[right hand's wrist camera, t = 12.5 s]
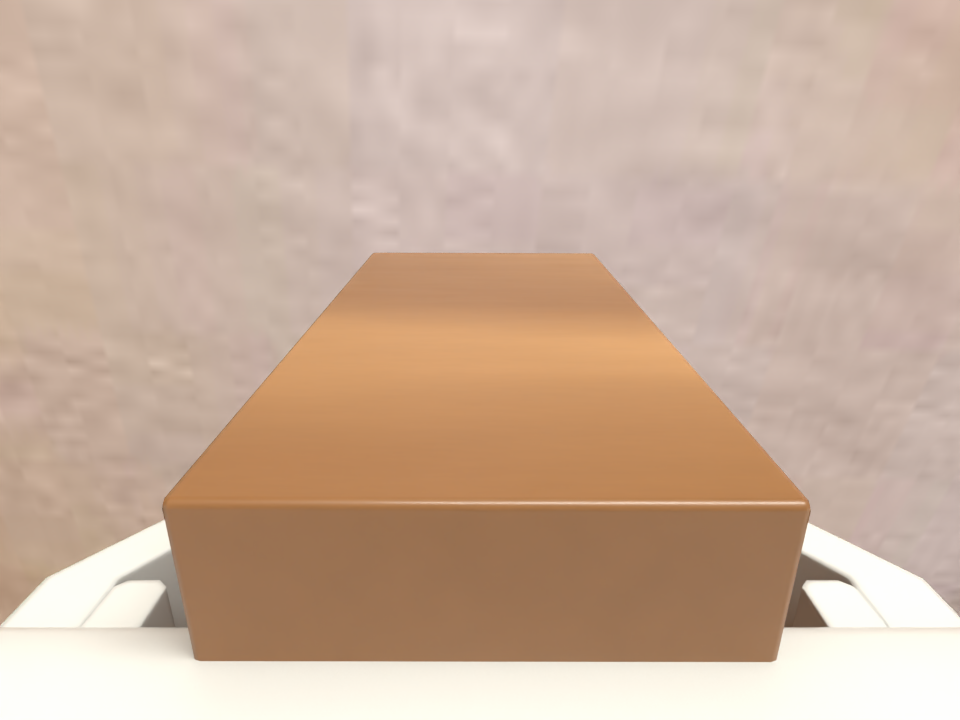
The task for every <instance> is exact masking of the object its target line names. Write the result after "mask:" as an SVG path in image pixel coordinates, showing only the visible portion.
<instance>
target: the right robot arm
mask: <svg viewBox="0 0 960 720" xmlns="http://www.w3.org/2000/svg"><path fill="white" fill-rule="evenodd" d="M0 720H960V616H959V615H958V614H957V613H956V612H955V611H954V610H953V609H952V608H951V607H950V606H949V605H948V604H947V603H946V602H945V601H944V600H943V599H942V598H941V597H940V596H939V595H938V594H937V593H936V592H935V591H934V590H933V589H932V588H931V587H930V586H929V585H928V584H927V582H926V581H925V580H924V579H922V578H920V577H918V576H916V575H914V574H912V573H910V572H908V571H906V570H904V569H902V568H900V567H898V566H896V565H894V564H892V563H890V562H888V561H886V560H884V559H882V558H880V557H877V556H875V555H873V554H871V553H869V552H867V551H865V550H863V549H861V548H859V547H857V546H855V545H853V544H851V543H849V542H847V541H845V540H843V539H841V538H839V537H837V536H835V535H833V534H830V533H828V532H826V531H824V530H822V529H820V528H818V527H816V526H814V525H812V524H810V523H808V525H807V529H806V533H805V538H804V542H803V546H802V551H801V555H800V559H799V564H798V568H797V572H796V577H795V581H794V585H793V590H792V594H791V599H790V603H789V607H788V612H787V616H786V620H785V625H784V629H783V633H782V638H781V642H780V646H779V651H778V655H777V659H776V661H773V662H388V661H198V660H195V659H194V654H193V649H192V645H191V640H190V635H189V631H188V626H187V621H186V617H185V612H184V607H183V603H182V598H181V593H180V589H179V584H178V579H177V575H176V570H175V565H174V561H173V556H172V551H171V547H170V542H169V537H168V533H167V528H166V523H165V520H162V521H160V522H158V523H156V524H154V525H152V526H150V527H148V528H146V529H144V530H142V531H140V532H138V533H136V534H134V535H132V536H130V537H128V538H126V539H124V540H122V541H120V542H118V543H116V544H114V545H112V546H110V547H108V548H106V549H104V550H102V551H99V552H97V553H95V554H93V555H91V556H89V557H87V558H85V559H83V560H81V561H79V562H77V563H75V564H73V565H71V566H69V567H67V568H65V569H63V570H61V571H59V572H57V573H55V574H53V575H51V576H49V577H47V578H45V579H44V580H43V581H42V583H41V584H40V585H39V586H38V587H37V588H36V589H35V590H34V591H33V592H32V593H31V594H30V595H29V596H28V597H27V598H26V599H25V600H24V601H23V602H22V603H21V604H20V605H19V606H18V607H17V609H16V610H15V611H14V612H13V613H12V614H11V615H10V616H9V617H8V618H7V619H6V620H5V621H4V622H3V623H2V624H1V625H0Z"/></svg>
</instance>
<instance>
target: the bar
mask: <svg viewBox="0 0 960 720" xmlns="http://www.w3.org/2000/svg"><path fill="white" fill-rule="evenodd" d="M162 509H163V514H164V519H165V523H166V528H167V533H168V537H169V542H170V547H171V551H172V556H173V561H174V565H175V570H176V575H177V579H178V584H179V589H180V593H181V598H182V603H183V607H184V612H185V617H186V621H187V626H188V631H189V635H190V640H191V645H192V649H193V654H194V659H195V660H198V661H388V662H773V661H776V659H777V655H778V651H779V646H780V642H781V638H782V633H783V629H784V625H785V620H786V616H787V612H788V607H789V603H790V599H791V594H792V590H793V585H794V581H795V577H796V572H797V568H798V564H799V559H800V555H801V551H802V546H803V542H804V538H805V533H806V529H807V525H808V520H809V516H810V512H811V511H810V505H809V501H808V500H807V499H806V497H805V496H804V495H803V494H802V493H801V492H800V491H799V489H798V488H797V487H796V486H795V485H794V484H793V482H792V481H791V480H790V479H789V478H788V477H787V476H786V474H785V473H784V472H783V471H782V470H781V469H780V468H779V466H778V465H777V464H776V463H775V462H774V461H773V460H772V458H771V457H770V456H769V455H768V454H767V453H766V451H765V450H764V449H763V448H762V447H761V446H760V445H759V443H758V442H757V441H756V440H755V439H754V438H753V437H752V435H751V434H750V433H749V432H748V431H747V430H746V429H745V427H744V426H743V425H742V424H741V423H740V422H739V420H738V419H737V418H736V417H735V416H734V415H733V414H732V412H731V411H730V410H729V409H728V408H727V407H726V406H725V404H724V403H723V402H722V401H721V400H720V399H719V398H718V396H717V395H716V394H715V393H714V392H713V391H712V390H711V388H710V387H709V386H708V385H707V384H706V383H705V381H704V380H703V379H702V378H701V377H700V376H699V375H698V373H697V372H696V371H695V370H694V369H693V368H692V367H691V365H690V364H689V363H688V362H687V361H686V360H685V359H684V357H683V356H682V355H681V354H680V353H679V352H678V350H677V349H676V348H675V347H674V346H673V345H672V344H671V342H670V341H669V340H668V339H667V338H666V337H665V336H664V334H663V333H662V332H661V331H660V330H659V329H658V328H657V326H656V325H655V324H654V323H653V322H652V321H651V319H650V318H649V317H648V316H647V315H646V314H645V313H644V311H643V310H642V309H641V308H640V307H639V306H638V305H637V303H636V302H635V301H634V300H633V299H632V298H631V297H630V295H629V294H628V293H627V292H626V291H625V290H624V289H623V287H622V286H621V285H620V284H619V283H618V282H617V280H616V279H615V278H614V277H613V276H612V275H611V274H610V272H609V271H608V270H607V269H606V268H605V267H604V266H603V264H602V263H601V262H600V261H599V260H598V259H597V258H596V256H595V255H594V254H565V253H373V254H372V255H371V256H370V257H369V259H368V260H367V261H366V262H365V263H364V264H363V266H362V267H361V268H360V269H359V270H358V272H357V273H356V274H355V275H354V276H353V277H352V279H351V280H350V281H349V282H348V283H347V284H346V286H345V287H344V288H343V289H342V290H341V291H340V293H339V294H338V295H337V296H336V297H335V299H334V300H333V301H332V302H331V303H330V304H329V306H328V307H327V308H326V309H325V310H324V311H323V313H322V314H321V315H320V316H319V317H318V319H317V320H316V321H315V322H314V323H313V324H312V326H311V327H310V328H309V329H308V330H307V331H306V333H305V334H304V335H303V336H302V337H301V338H300V340H299V341H298V342H297V343H296V344H295V346H294V347H293V348H292V349H291V350H290V351H289V353H288V354H287V355H286V356H285V357H284V358H283V360H282V361H281V362H280V363H279V364H278V366H277V367H276V368H275V369H274V370H273V371H272V373H271V374H270V375H269V376H268V377H267V378H266V380H265V381H264V382H263V383H262V384H261V386H260V387H259V388H258V389H257V390H256V391H255V393H254V394H253V395H252V396H251V397H250V398H249V400H248V401H247V402H246V403H245V404H244V405H243V407H242V408H241V409H240V410H239V411H238V413H237V414H236V415H235V416H234V417H233V418H232V420H231V421H230V422H229V423H228V424H227V425H226V427H225V428H224V429H223V430H222V431H221V433H220V434H219V435H218V436H217V437H216V438H215V440H214V441H213V442H212V443H211V444H210V445H209V447H208V448H207V449H206V450H205V451H204V453H203V454H202V455H201V456H200V457H199V458H198V460H197V461H196V462H195V463H194V464H193V465H192V467H191V468H190V469H189V470H188V471H187V472H186V474H185V475H184V476H183V477H182V478H181V480H180V481H179V482H178V483H177V484H176V485H175V487H174V488H173V489H172V490H171V491H170V492H169V494H168V495H167V496H166V497H165V499H164V502H163V508H162Z"/></svg>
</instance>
